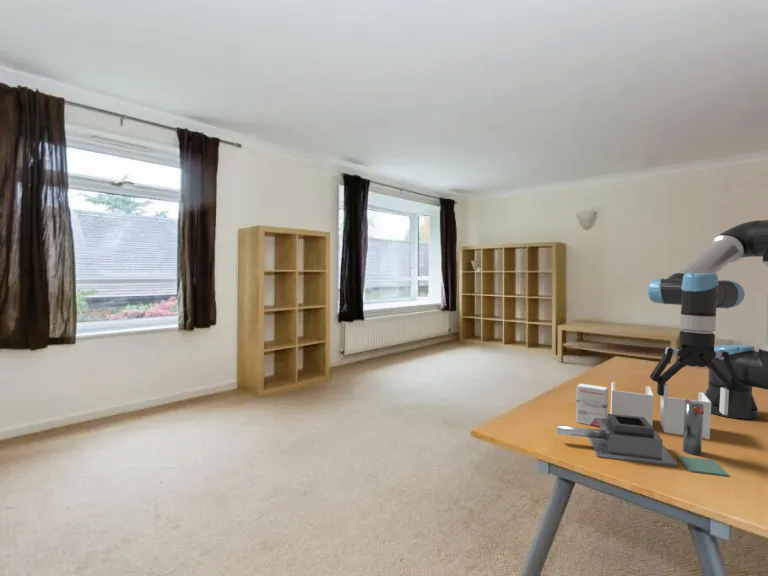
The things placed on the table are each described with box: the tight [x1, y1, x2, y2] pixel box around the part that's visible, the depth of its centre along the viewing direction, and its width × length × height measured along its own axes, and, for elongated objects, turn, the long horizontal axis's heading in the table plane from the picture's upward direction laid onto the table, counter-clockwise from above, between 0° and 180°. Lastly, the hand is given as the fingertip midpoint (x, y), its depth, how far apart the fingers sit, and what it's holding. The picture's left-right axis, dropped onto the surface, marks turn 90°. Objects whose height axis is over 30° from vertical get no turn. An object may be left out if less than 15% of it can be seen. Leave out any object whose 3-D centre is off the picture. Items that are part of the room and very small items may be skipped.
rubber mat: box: [676, 455, 730, 478], centre depth 105 cm, size 8×8×1 cm
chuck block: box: [556, 413, 678, 467], centre depth 115 cm, size 27×14×8 cm, turn 73°
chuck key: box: [682, 398, 704, 456], centre depth 113 cm, size 4×9×13 cm, turn 163°
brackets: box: [610, 381, 712, 440], centre depth 132 cm, size 25×11×11 cm, turn 63°
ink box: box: [575, 383, 609, 428], centre depth 133 cm, size 9×5×12 cm, turn 55°
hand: (692, 410), depth 112 cm, fingers open, 13 cm apart
